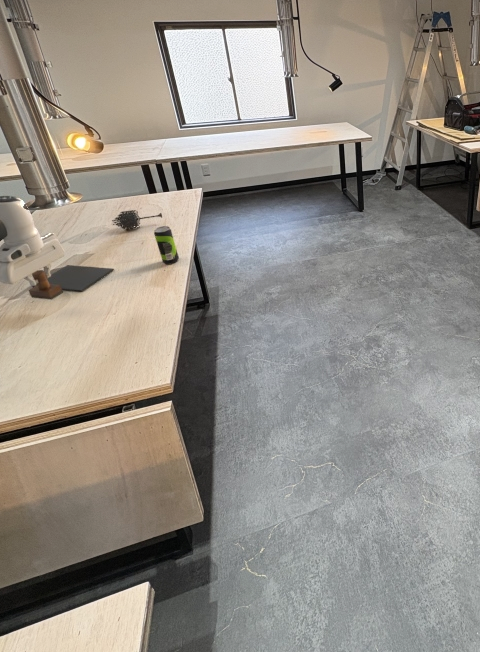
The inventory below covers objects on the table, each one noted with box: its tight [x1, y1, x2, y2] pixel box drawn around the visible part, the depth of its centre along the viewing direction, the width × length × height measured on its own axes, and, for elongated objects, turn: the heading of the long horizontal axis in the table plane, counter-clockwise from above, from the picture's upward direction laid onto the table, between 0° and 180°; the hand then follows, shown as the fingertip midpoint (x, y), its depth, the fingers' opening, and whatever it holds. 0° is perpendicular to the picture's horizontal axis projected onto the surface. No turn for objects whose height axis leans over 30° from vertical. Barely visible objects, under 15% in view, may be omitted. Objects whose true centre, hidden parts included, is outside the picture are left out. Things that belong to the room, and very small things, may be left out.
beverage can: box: [153, 225, 180, 265], centre depth 170 cm, size 6×6×15 cm
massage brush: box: [111, 209, 163, 231], centre depth 203 cm, size 9×22×9 cm, turn 113°
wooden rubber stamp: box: [28, 269, 64, 301], centre depth 139 cm, size 8×4×9 cm, turn 80°
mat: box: [31, 264, 115, 293], centre depth 162 cm, size 22×16×1 cm
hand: (41, 281), depth 138 cm, fingers closed on wooden rubber stamp, 3 cm apart
